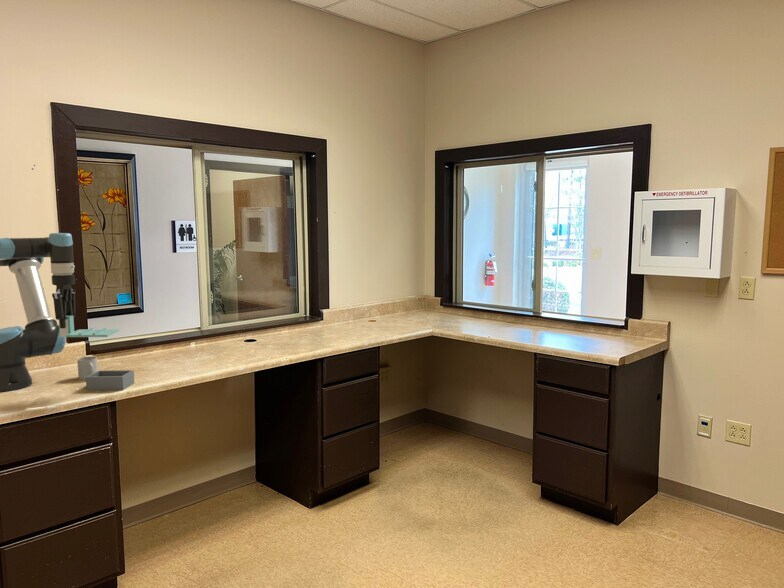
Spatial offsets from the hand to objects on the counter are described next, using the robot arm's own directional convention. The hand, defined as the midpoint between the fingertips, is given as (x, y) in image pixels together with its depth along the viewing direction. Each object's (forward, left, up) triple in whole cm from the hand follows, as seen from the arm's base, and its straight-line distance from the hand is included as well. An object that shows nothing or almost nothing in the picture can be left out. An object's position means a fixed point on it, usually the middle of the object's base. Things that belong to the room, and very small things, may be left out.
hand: (66, 335), depth 215 cm
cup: (-2, +17, -22) cm, 28 cm away
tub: (+13, +4, -22) cm, 26 cm away
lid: (+8, 0, 0) cm, 8 cm away
